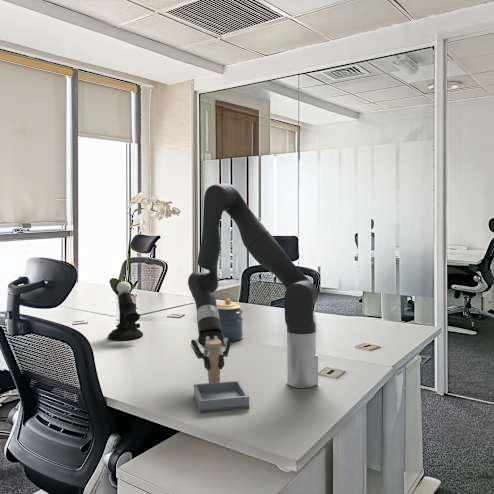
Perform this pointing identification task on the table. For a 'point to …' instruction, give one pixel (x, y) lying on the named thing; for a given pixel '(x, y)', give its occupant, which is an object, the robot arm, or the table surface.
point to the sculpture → (126, 316)
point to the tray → (220, 396)
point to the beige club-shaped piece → (213, 360)
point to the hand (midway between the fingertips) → (214, 368)
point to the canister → (230, 320)
